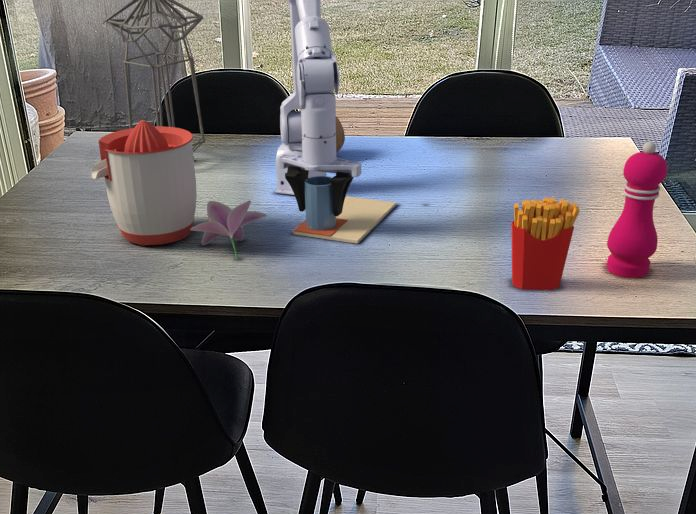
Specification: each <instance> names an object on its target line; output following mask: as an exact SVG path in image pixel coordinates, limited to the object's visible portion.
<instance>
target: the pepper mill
mask: <svg viewBox="0 0 696 514" xmlns="http://www.w3.org/2000/svg"><path fill="white" fill-rule="evenodd" d="M656 150H657V146H656V144H655V143H654V141H647V142H645V143H644V144H643V146H642V151H637V152H636V153H633V154H632V155H630V156H629V157H628V158H627V159H626V161H625V163H624V166H623V178H624V179H625V180H626V183H624V185H623V186H624V187H623V188H624V190H623V195H624V196H625V197H624V205H623V209H622V211H621V213H620V216H619V217H618V219H617V220H616V221H615V223H614V225H613V227H612V228H611V229H610V232H609V233H608V237H607V240H606V247H607V250H608V251H609V252H610V253H611V254H609V255H608V257H607V259H606V260H607V261H606V266H605V267H606V270H607V271H608V272H609V273H610V274H612V275H615V276H617V277H620V278H628V279H637V278H643V277H645V276H647V275H648V274H649V272H650V268H651V267H650V266H651V260H650V258H651V257H652V256H653V255H654V254H655V253H656V251H657V250H658V233H657V230H656V226H655V222H654V205H655V201H656V199H657V198H659V197H660V191H661V186H660V185H661V184H662V183H663V182H664V181H665V180H666V178H667V175H668V162H667V161H666V159H665V158H664V157H663V155H661V154H660V153H658V152H656Z"/></svg>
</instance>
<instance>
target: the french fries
mask: <svg viewBox="0 0 696 514" xmlns="http://www.w3.org/2000/svg"><path fill="white" fill-rule="evenodd" d="M556 199H557V198H556V197H551V198H549V197H546V196H543V199H542V200H539V199H538V200H537V199H531V200H530V199H524V200H522V201H521V209H520V205H519V203H513V216H514V217H513V218H514V219H513V220H512V221H511V222H510V224H511V225H510V226H511V228H510V229H511V230H510V231H511V232H510V233H511V235H510V236H511V237H510V238H511V283H512V286H513V287H514V288H517V289H520V290H527V291H528V290H529V291H553V290H555V289H558V288H560V286H561V282H562V277H563V273H564V269H565V266H566V261H567V258H568V253H569V251H570V246H571V241H572V238H573V233H574V229H575V226H574V224H575V222H576V220H577V219H578V216H579V214H580V212H581V210H580V207H579V206H578V203H576V202H572V203H570V201H567V200H566V199H564V198H560V199H559V200H558V201H557V200H556Z"/></svg>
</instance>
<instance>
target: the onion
mask: <svg viewBox="0 0 696 514" xmlns="http://www.w3.org/2000/svg"><path fill="white" fill-rule="evenodd" d="M345 140H346V133H345V129H344V127H343V125H342V122H341V121H340V119H339V118H338V117H337V116H336V155H337V154H338V153H339V152H340V151H341V149H342V148H343V146H344V144H345V142H346V141H345Z"/></svg>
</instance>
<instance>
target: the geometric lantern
mask: <svg viewBox="0 0 696 514" xmlns="http://www.w3.org/2000/svg"><path fill="white" fill-rule="evenodd" d="M170 3H171V4H170ZM134 4H136V5H135V6H134V7H133V9H132V10H131V11H130V13H129V14H128V15H127V16H126V18H115V17H117V16H119V14H121V13H122V12H124V11H125V10H128V8H130V7H132V6H133V5H134ZM172 4H173V5H175V6H177V7H178V8H180V9H182V10H185V11H186V12H189V13H190V14H191V15H186V16H184V15H183V14H182V13H180V11H178V10H177V9H176V8H175V7H174V6H173V5H172ZM153 6H154V11H153ZM146 7H147V12H145V9H146ZM163 7H164V8H165V10H167V11H168V12H169V13H167V12H165V10H164V9H163ZM175 13H176V14H177V15H176V14H175ZM153 14H155V19H156V24H157V26H153ZM158 15H159V16H160V17H161V18H162V19H163V20H164V21H165V22H166V23H162V24H161V23H160V22H159V16H158ZM145 17H146V19H145V21H144V23H143V25H140V22H141V20H142V19H143V18H145ZM168 17H169V18H172V19H174V20H175V25H174V24H173V23H171V21H170V20H169V18H168ZM190 19H191V20H190ZM131 20H132V21H131ZM182 20H183V21H184V22H182ZM188 20H189V21H188ZM203 20H204V16H203V15H202V14H200V13H199V12H196V11H194V10H192V9H191V8H189V7H188V6H185V4H182V3H180V2H178V1H177V0H130V1H129V2H128V3H126V4H124V5H123V6H122V7H120V8H119V9H118V10H116V11H115V12H114V13H112V14H111V15H109V16H108V17H106V18H105V19H103V20H102V24H103V25H104V24H105V23H106V24H107V25H108V26H110V28H112V30H114V32H116V33H117V34H118V35H119V36H120V37H121V38H122V39H121V40H122V42H123V43H125V54H124V60H122V63H123V67H124V78H125V90H126V103H127V113H128V125H129V126H128V127H129V129H131V128H133V112H132V111H133V110H132V91H131V90H132V88H131V71H130V69H131V68H130V65H134V66H140V67H145V68H151V77H152V88H153V98H154V109H155V121H156V126H163V127H164V120H163V106H162V105H163V104H162V91H163V97H164V105H165V110H166V118H167V125H168V127H175V128H176V125H175V115H174V108H173V99H172V92H171V83H170V74H169V73H170V72H169V67H168V66H173V65H177V64H180V63H185V62H189V68H190V76H191V80H192V87H193V93H194V100H195V105H196V111H197V116H198V123H199V131H200V135H199V134H193V133H191V134H192V135H193V138H195V139H198V140H197V141H196V142H192V149H193V153H194V152H195V151H196V150H198V149H199V148H200V146H202V145H203V144H205V143H206V139H205V133H204V127H203V121H202V114H201V107H200V106H201V105H200V98H199V89H198V81H197V75H196V67H195V59H194V56H193V53H192V49H191V46H190V43H189V40H188V35H189V34H190V33H191V32H192V31H193V30H194V29H195V28H196V27H197V26H198V25H199V24H200V23H201V22H202V21H203ZM130 21H131V24H130V25H129V22H130ZM135 23H136V26H135ZM178 24H179V25H178ZM188 25H189V26H188ZM187 26H188V27H187ZM165 28H168V30H170V33H169V32H167V30H165ZM150 29H158V30H160V31H161V32H162V33H163V34H165V36H167V37H168V40H167V42H166V44H165V47H164V49H163V51H162V52H161V51H159V50H158V49H157V48H156V46H155V45H154V44H153V42H152V41H151V40H150V39H149V38H148V37H147V35H146V34H147V33H148V32H149V31H150ZM132 30H136V31H132ZM124 32H125V33H126V36H125V35H124ZM176 32H177V33H179V34H181V36H179V37H176V38H175V37H174V35H175V33H176ZM133 35H138V36H136V37H135V38H134V37H133ZM142 37H144V38H145V39H146V41H148V43H149V44H150V45H151V46H152V48H153V49H154V50H155V51H156V52H150V53H145V52H144V51H143V49H142V47H141V46H140V45H139V43H138V41H139V40H140V39H141V38H142ZM179 41H182V42H183V45H184V48H185V52H186V55H184V54H177V53H170V52H169V51H170V49H171V46H172V45H173V43H176V42H179ZM130 43H134V44H135V46H136V47H137V49H138V50H139V52H140V53H141V55H138V56H133V57H129V44H130ZM153 55H155V64H152V62H151V61H150V59H149V58H148V56H153ZM159 56H163V57H162V59H161V61H160V60H159V58H160V57H159ZM167 56H175V57H182V58H187V59H182V60H178V61H173V62H169V63H168V57H167ZM128 57H129V58H128ZM140 58H144V59H145V61H146V62H147V64H145V63H137V62H132V61H131V60H137V59H140ZM163 63H164V64H163ZM164 67H165V68H164ZM155 69H156V76H155ZM164 69H165V73H164ZM165 74H166V75H165ZM165 76H166V81H165ZM156 77H157V79H156ZM156 80H157V83H156ZM161 83H162V84H161ZM156 84H157V85H156ZM166 84H167V85H166ZM161 85H162V88H161ZM166 87H167V88H166ZM167 93H168V94H167ZM168 101H169V102H168ZM193 158H194V156H193ZM194 159H195V158H194Z"/></svg>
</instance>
